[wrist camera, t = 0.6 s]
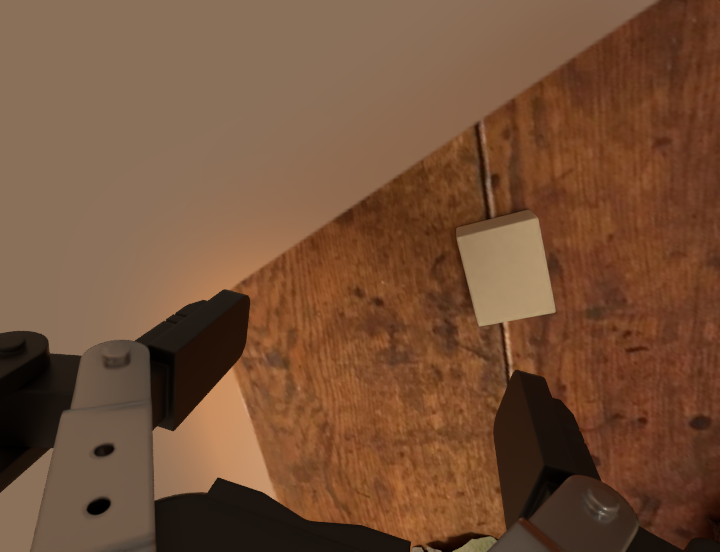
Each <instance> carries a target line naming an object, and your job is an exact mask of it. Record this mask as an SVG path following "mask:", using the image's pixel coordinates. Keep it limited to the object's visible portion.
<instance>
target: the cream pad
mask: <svg viewBox="0 0 720 552" xmlns="http://www.w3.org/2000/svg"><path fill="white" fill-rule="evenodd" d="M456 238H457V243H458V247H459V251H460V255H461V259H462V263H463V267H464V271H465V275H466V279H467V283H468V287H469V291H470V295H471V299H472V303H473V307H474V311H475V315H476V319H477V323H478V326H484V325H490V324H495V323H501V322H506V321H512V320H517V319H523V318H528V317H534V316H539V315H544V314H550V313H555V312H556V309H555V304H554V299H553V293H552V288H551V283H550V278H549V272H548V267H547V262H546V257H545V251H544V246H543V241H542V236H541V231H540V225H539V220H538V218H537V217H536V216H535V214H534V213H533V212H532V211H531V210H529V209H528V210H524V211H520V212H516V213H513V214H509V215H505V216H501V217H497V218H493V219H489V220H485V221H481V222H477V223H473V224H469V225H465V226H461V227H457V228H456Z"/></svg>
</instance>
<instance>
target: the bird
mask: <svg viewBox="0 0 720 552" xmlns="http://www.w3.org/2000/svg"><path fill="white" fill-rule="evenodd" d="M705 517H706V519H707V521H708V522H709V523H710V525H711V526H712V530H713V532H714V533H715V536H714V541H716V542H717V541H718V540H719V538H720V522H719V523H717V524H715V523H714V522H713V521H712V520H710V519H709V518H708V517H707V516H706V515H705Z"/></svg>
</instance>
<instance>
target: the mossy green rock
mask: <svg viewBox="0 0 720 552" xmlns="http://www.w3.org/2000/svg"><path fill="white" fill-rule="evenodd" d="M496 541H497V540H495V539H494V538H493V537H491V536H489V537H484V538H479V539H471V540H470V541H469V542H468V543H467V544H465V545H464V546H462V547H461V548H459V549H456V550H454V551H453V552H487V551H488V550H489V549H490V548H491V546H492V545H493V544H494V543H495V542H496ZM426 548H427V550H428V552H441V551H440V550H437V549H432V548H430V547H426ZM412 552H423V550H422V548H418V547H413V548H412Z"/></svg>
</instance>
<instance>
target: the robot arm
mask: <svg viewBox="0 0 720 552" xmlns="http://www.w3.org/2000/svg"><path fill="white" fill-rule="evenodd" d="M249 309H250V298H249V296H248V295H244V294H240V293H237V292H233V291H229V290H222V291H221V292H219V293H218V294H217V295H215V296H214V297H212V298H211V299H210V300H208V301H206V300H202V301H199V302H195V303H192V304H189V305H187V306H185V307H183V308H182V309H181V310H179V311H178V312H176V314H175V315H174V314H173V315H172V316H170V317H169V318H167V319H166V321H163V322H162V323H160V324H159V325H157V326H156V327H154V328H153V329H151V330H150V331H148V332H147V333H145V334H144V335H143V336H141V337H140V338H138V339H137V340H135V341H130V340H114V341H108V342H104V343H100V344H98V345H95V346H93V347H91V348H90V349H88V350H87V351H86V352H85V353H84V354H83V355H82V356H78V355H64V354H50V352H49V343H48V339H47V338H46V337H45V336H44V335H42V334H39V333H36V332H30V331H13V332H6V333H0V493H1V492H2V491H3V490H4V489H5V488H6V487H7V486H8V485H10V484H11V483H12V482H13V481H14V480H15V479H16V478H17V477H19V476H20V475H21V474H22V473H23V472H24V471H25V470H27V469H28V468H29V467H30V466H31V465H32V464H33V463H34V462H36V461H37V460H38V459H39V458H40V457H41V456H42V455H43V454H45V453H46V452H47V451H48V450H49V449H50V448H54V449H53V454H52V458H51V462H50V467H49V471H48V475H47V480H46V484H45V488H44V493H43V498H42V502H41V506H40V510H39V515H38V520H37V524H36V528H35V532H34V537H33V541H32V546H31V550H30V552H410V546H411V542H410V541H407V540H404V539H401V538H398V537H395V536H392V535H389V534H386V533H383V532H380V531H377V530H374V529H371V528H368V527H365V526H362V525H352V524H340V523H328V522H316V521H309V520H306V519H304V518H302V517H300V516H299V515H297V514H296V513H294V512H293V511H291V510H289V509H288V508H286V507H285V506H283V505H282V504H280V503H279V502H277V501H275V500H274V499H272V498H270V497H269V496H268V495H266V494H265V493H263V492H260V491H257V490H254V489H251V488H248V487H245V486H242V485H239V484H236V483H233V482H230V481H227V480H224V479H221V478H217V479H216V481H215V482H214V484H213V485H212V487H211V488H210V490H209V491H208V493H204V492H199V493H185V494H178V495H173V496H168V497H165V498H161V499H158V500H155V501H154V470H153V437H152V436H153V435H152V431H153V430H154V428H155V427H157V426H159V427H162V428H165V429H168V430H171V431H174V430H175V429H176V428H177V427H178V426H179V425H180V424H181V423H182V422H183V420H184V419H185V418H186V417H187V416H188V415H189V414H190V413H191V412H192V410H193V409H194V408H195V407H196V406H197V405H198V404H199V403H200V402H201V401H202V399H203V398H204V397H205V396H206V395H207V393H209V392H210V391H211V389H212V388H213V387H214V386H215V385H216V384H217V383H218V382H219V380H221V378H222V377H223V376H224V375H225V374H226V373H227V372H228V371H229V369H230V368H231V367H232V366H233V365H234V364H235V363H236V362H237V361H238V359H239V358H240V357H241V355H242V353H243V350H244V348H245V344H246V339H247V329H248V319H249ZM493 434H494V443H495V450H496V457H497V465H498V472H499V479H500V486H501V494H502V501H503V508H504V516H505V523H506V530H507V531H506V532H505V533H504V534H503V535H502V536H501V537H500V538H499V539H498V540H497V541H496V542H495V543H494V544H493V545H492V546H491V548H490V549H489V550H488V551H487V552H720V543H719V542H716V541H714V540H710V539H706V538H695V539H692V540H691V541H690V542H689V543H688V545H687V546H686V547H685V549H684V550H681V549H680V548H678V547H676V546H674V545H672V544H670V543H668V542H667V541H665V540H663V539H661V538H659V537H657V536H656V535H654V534H652V533H650V532H648V531H647V530H645V529H643V528H641V527H640V526H639V522H638V518H637V515H636V513H635V511H634V510H633V508H632V507H631V506H630V504H629V503H628V502H627V501H626V500H625V499H624V498H623V497H622V496H621V495H620V494H619V493H618V492H617V491H615V490H614V489H613V488H611V487H610V486H608V485H607V484H605V483H603V482H602V481H601V479H600V476H599V474H598V472H597V469H596V467H595V465H594V462H593V460H592V457H591V455H590V453H589V450H588V448H587V446H586V444H585V443H584V438H583V436H582V434H581V432H580V431H579V427H578V424H577V422H576V420H575V417H574V415H573V414H572V412H571V411H570V410H569V409H568V408H567V407H566V406H565V405H564V403H563V402H562V401H561V400H559V399H555V398H552V396H551V393H550V391H549V388H548V385H547V382H546V380H545V378H544V377H542V376H538V375H534V374H531V373H527V372H523V371H520V370H515V371H514V372H513V374H512V376H511V378H510V381H509V384H508V386H507V389H506V391H505V394H504V396H503V399H502V401H501V404H500V406H499V409H498V411H497V414H496V418H495V422H494V431H493Z"/></svg>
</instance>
